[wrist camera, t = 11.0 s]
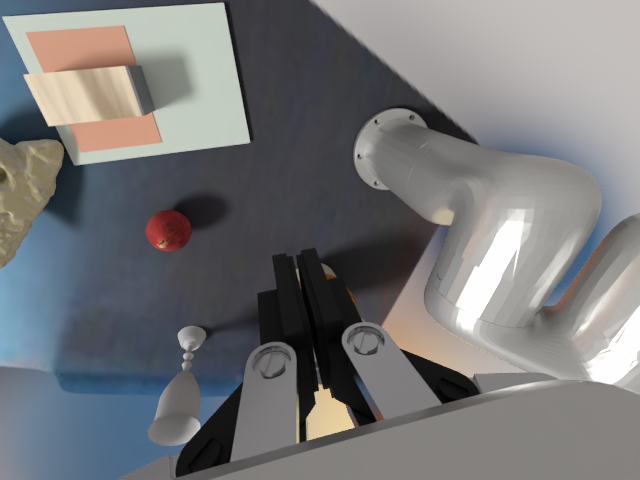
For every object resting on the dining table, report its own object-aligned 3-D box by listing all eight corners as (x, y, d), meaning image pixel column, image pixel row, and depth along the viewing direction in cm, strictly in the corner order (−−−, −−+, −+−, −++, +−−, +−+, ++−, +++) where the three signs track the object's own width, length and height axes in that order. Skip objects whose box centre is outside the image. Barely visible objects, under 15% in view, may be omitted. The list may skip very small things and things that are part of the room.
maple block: (127, 65, 33) (23, 74, 32) (144, 115, 35) (48, 126, 34) (140, 65, 37) (49, 73, 36) (155, 110, 40) (70, 119, 38)
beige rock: (9, 92, 38) (-164, 149, 30) (36, 107, 35) (-148, 174, 27) (84, 191, 49) (-28, 251, 41) (109, 208, 46) (-6, 277, 38)
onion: (166, 194, 46) (153, 217, 39) (202, 216, 48) (195, 241, 42) (145, 223, 47) (129, 250, 40) (181, 242, 50) (171, 271, 43)
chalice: (181, 317, 57) (158, 410, 41) (217, 327, 59) (208, 417, 44) (166, 344, 59) (140, 443, 44) (202, 352, 62) (188, 448, 46)
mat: (224, 3, 37) (223, 2, 36) (250, 141, 45) (250, 142, 44) (4, 17, 33) (1, 16, 33) (76, 164, 41) (73, 165, 41)
